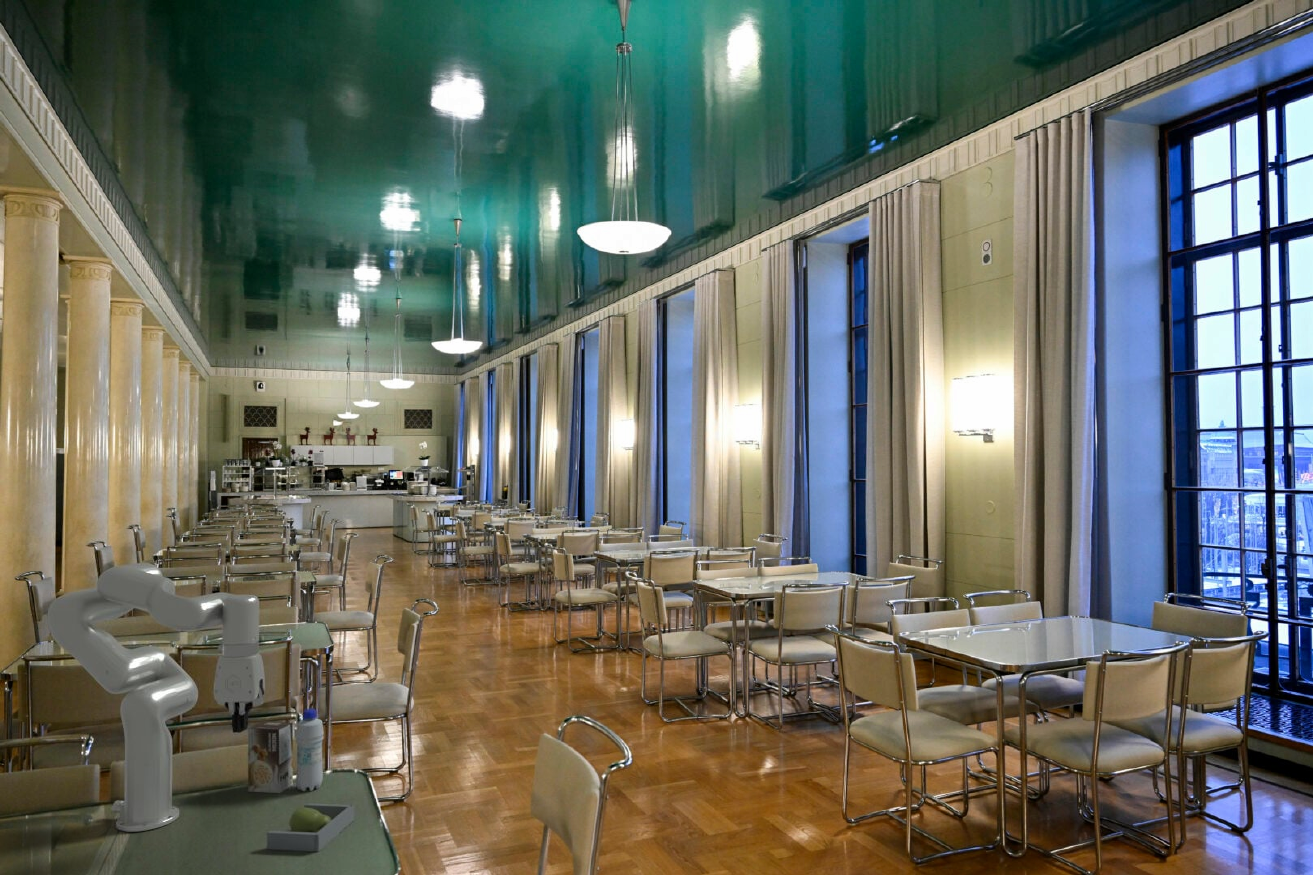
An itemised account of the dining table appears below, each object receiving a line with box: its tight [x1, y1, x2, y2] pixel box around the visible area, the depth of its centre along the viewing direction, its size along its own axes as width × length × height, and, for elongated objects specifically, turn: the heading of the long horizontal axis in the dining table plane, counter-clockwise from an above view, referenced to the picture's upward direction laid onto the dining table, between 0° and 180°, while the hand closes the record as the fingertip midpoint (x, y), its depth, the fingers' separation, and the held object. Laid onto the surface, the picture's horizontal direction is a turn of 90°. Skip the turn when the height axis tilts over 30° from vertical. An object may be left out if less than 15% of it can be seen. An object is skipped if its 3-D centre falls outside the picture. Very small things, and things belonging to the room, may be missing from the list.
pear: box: [289, 807, 332, 833], centre depth 190 cm, size 6×5×10 cm
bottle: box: [295, 708, 325, 792], centre depth 217 cm, size 7×7×20 cm
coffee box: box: [247, 720, 294, 794], centre depth 217 cm, size 9×6×16 cm
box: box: [266, 802, 355, 853], centre depth 189 cm, size 12×16×4 cm
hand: (240, 730), depth 193 cm, fingers closed
